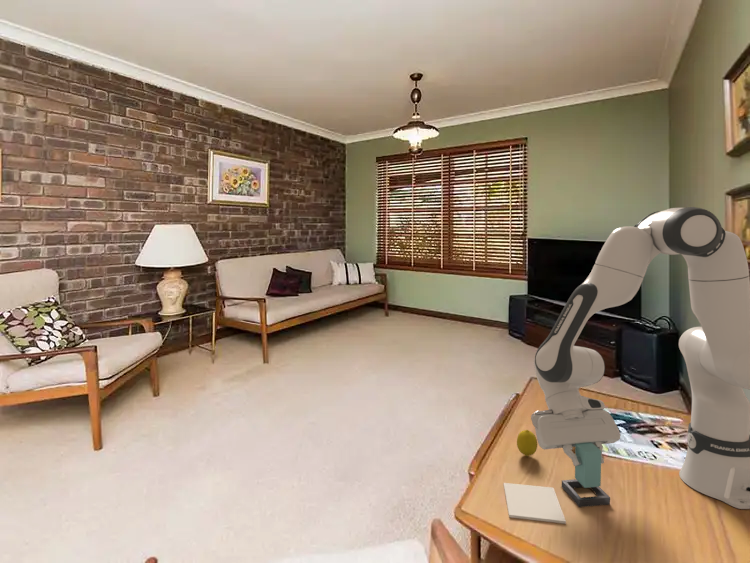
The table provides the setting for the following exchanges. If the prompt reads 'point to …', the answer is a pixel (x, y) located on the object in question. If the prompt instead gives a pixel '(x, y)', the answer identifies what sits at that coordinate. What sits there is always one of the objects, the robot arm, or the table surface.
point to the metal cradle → (585, 501)
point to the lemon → (527, 442)
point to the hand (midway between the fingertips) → (589, 464)
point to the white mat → (533, 503)
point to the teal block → (588, 465)
